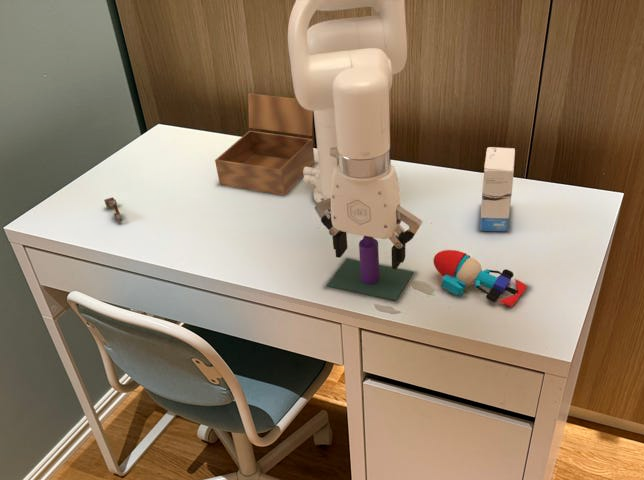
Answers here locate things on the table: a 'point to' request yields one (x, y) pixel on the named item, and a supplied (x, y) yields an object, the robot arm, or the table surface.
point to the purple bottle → (369, 260)
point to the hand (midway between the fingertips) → (369, 258)
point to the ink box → (497, 189)
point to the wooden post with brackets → (112, 203)
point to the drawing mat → (384, 288)
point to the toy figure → (474, 276)
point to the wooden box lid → (279, 115)
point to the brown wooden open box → (265, 162)
